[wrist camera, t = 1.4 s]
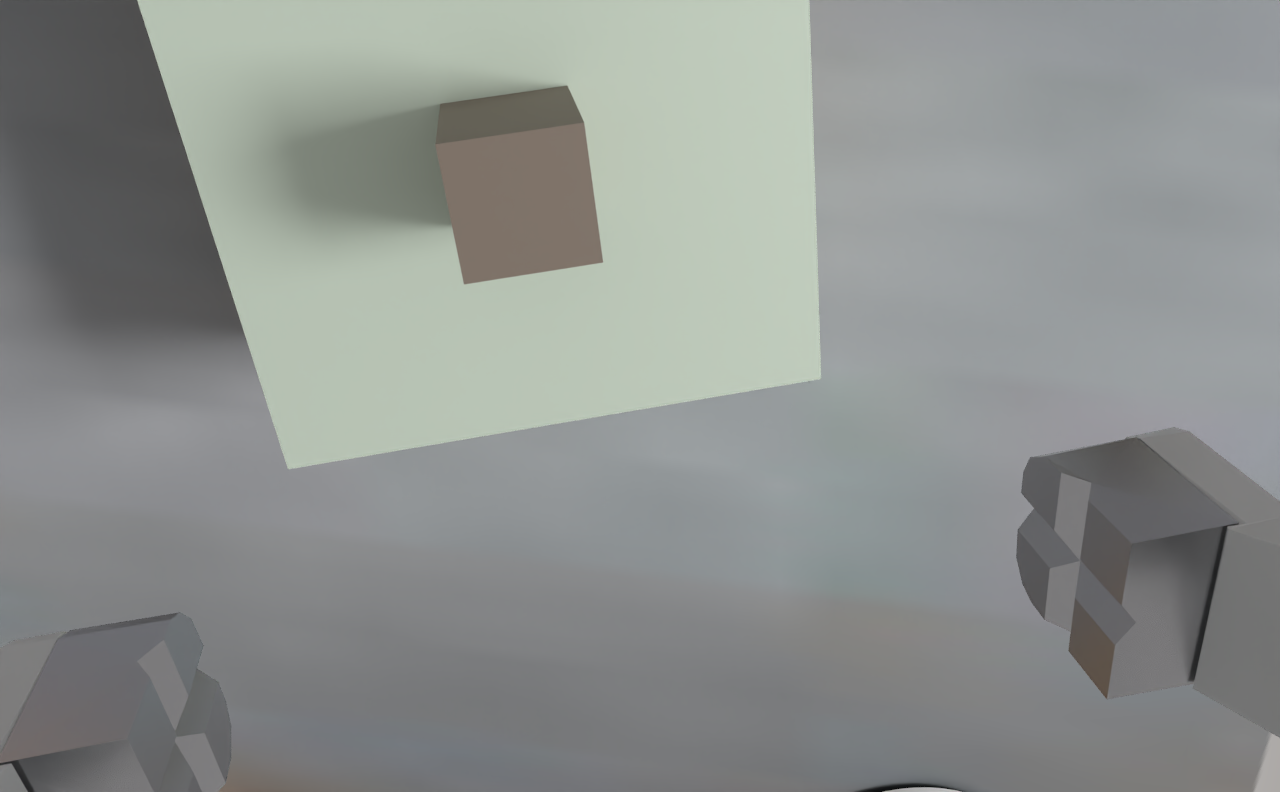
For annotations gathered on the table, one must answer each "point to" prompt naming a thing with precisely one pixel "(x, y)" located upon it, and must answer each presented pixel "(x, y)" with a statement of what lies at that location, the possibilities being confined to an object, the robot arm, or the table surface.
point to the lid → (500, 205)
